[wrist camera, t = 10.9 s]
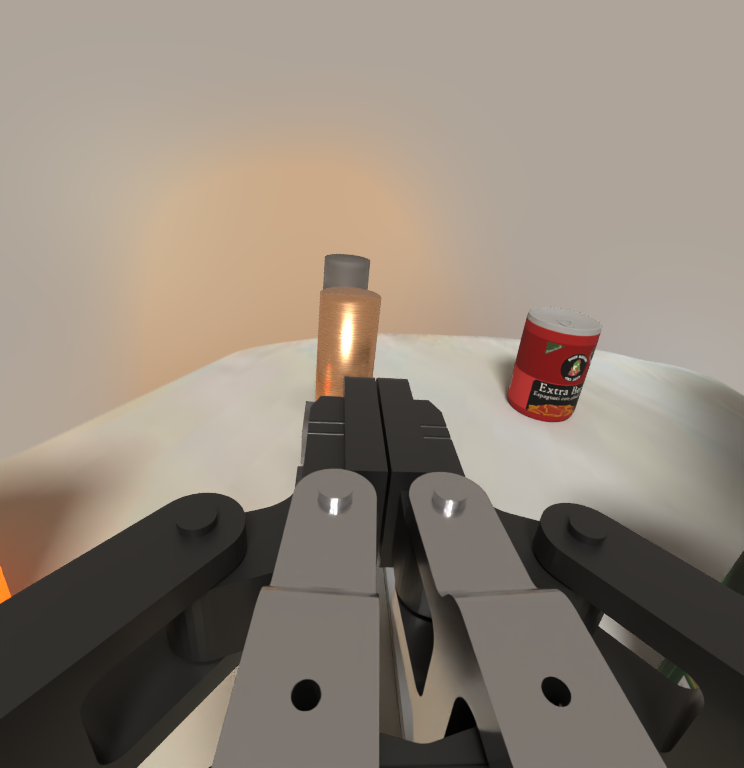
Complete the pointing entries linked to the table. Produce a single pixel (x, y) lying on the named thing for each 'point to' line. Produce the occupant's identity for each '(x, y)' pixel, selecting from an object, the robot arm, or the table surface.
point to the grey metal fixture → (336, 274)
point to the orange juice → (3, 588)
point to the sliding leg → (345, 339)
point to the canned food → (552, 362)
